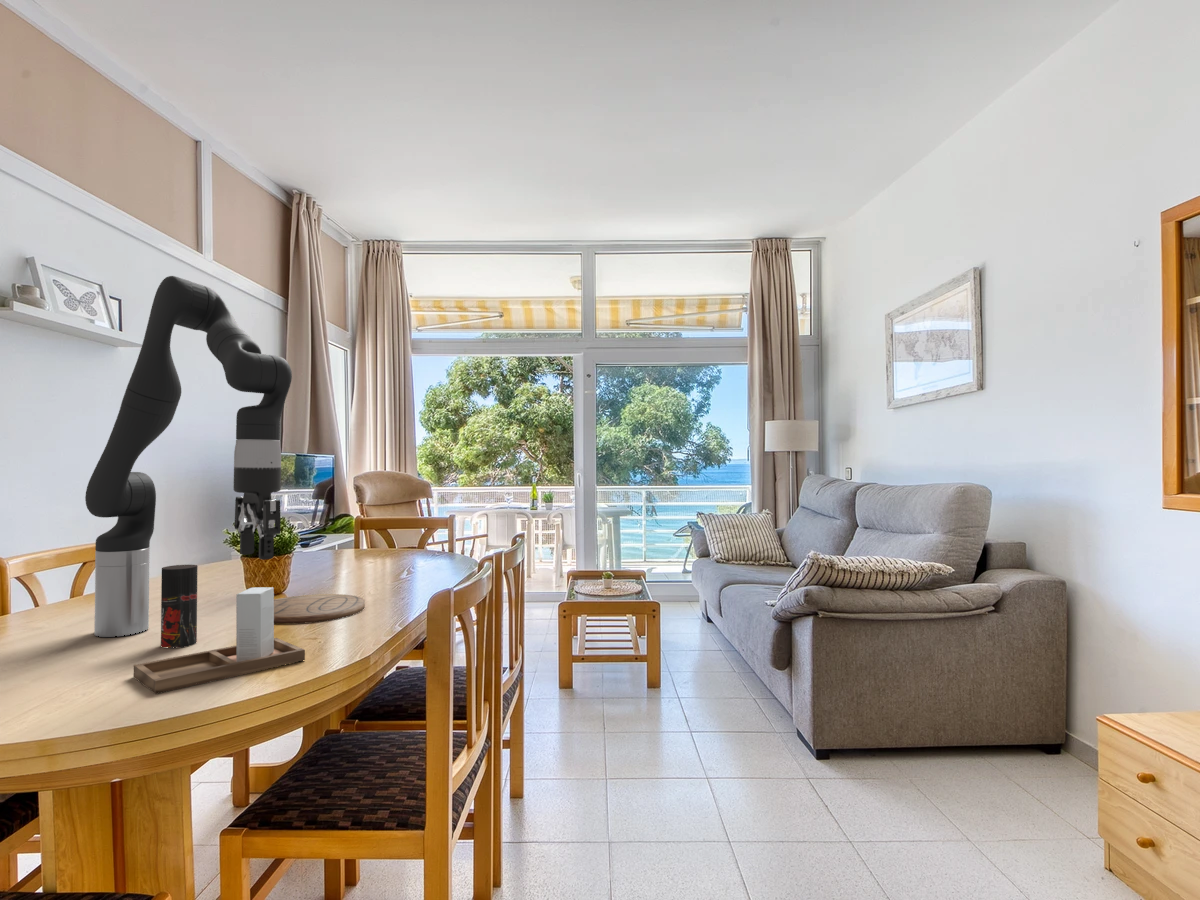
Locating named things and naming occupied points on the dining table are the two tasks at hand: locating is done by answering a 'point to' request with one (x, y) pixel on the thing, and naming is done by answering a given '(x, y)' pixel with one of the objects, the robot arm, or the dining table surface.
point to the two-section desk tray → (210, 666)
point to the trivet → (316, 607)
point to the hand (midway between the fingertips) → (256, 556)
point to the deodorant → (179, 606)
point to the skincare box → (254, 623)
